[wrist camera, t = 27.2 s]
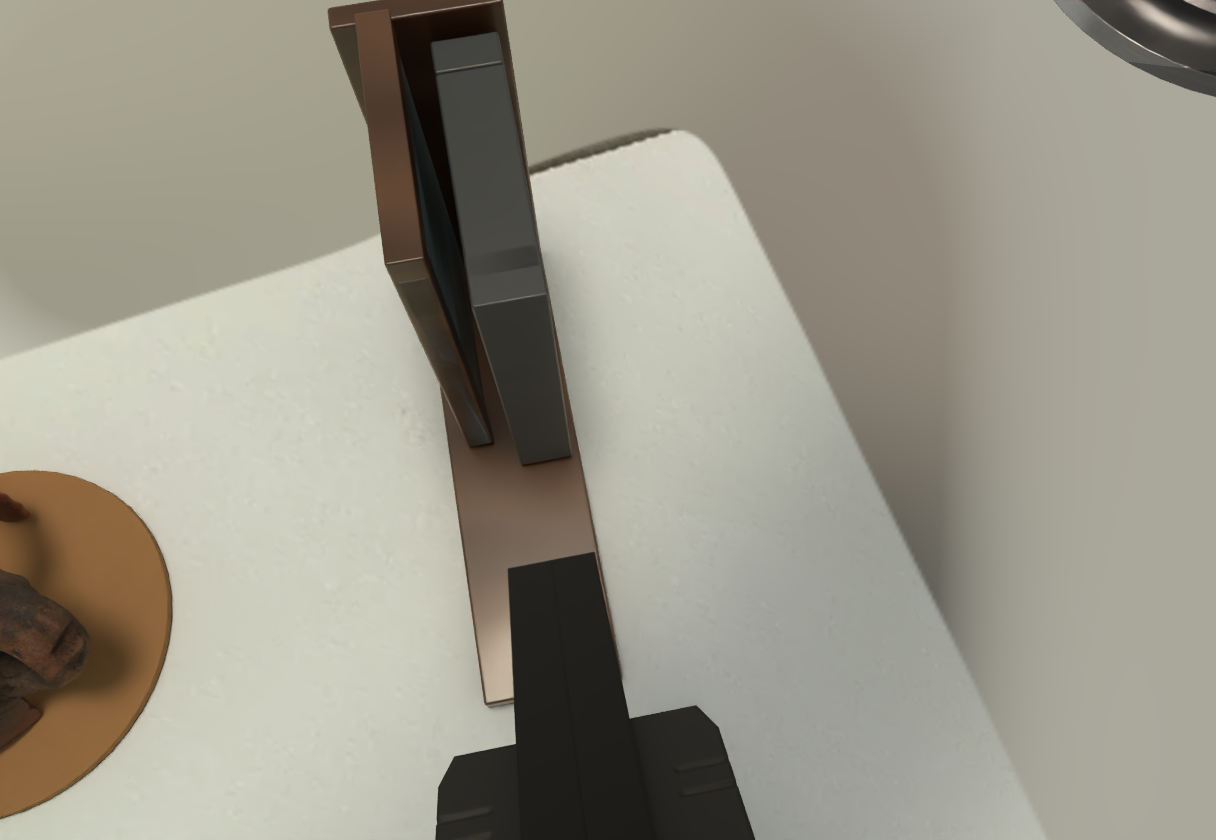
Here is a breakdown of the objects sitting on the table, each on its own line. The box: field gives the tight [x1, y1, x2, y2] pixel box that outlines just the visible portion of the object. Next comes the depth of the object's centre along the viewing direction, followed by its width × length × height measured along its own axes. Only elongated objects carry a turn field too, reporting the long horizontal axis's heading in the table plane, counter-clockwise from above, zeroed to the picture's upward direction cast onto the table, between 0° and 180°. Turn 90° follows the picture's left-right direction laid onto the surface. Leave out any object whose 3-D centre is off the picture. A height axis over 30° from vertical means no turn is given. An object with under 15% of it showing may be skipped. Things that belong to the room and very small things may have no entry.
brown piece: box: [328, 0, 622, 707], centre depth 31 cm, size 19×5×15 cm, turn 11°
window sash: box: [430, 32, 572, 465], centre depth 32 cm, size 9×2×13 cm, turn 11°
